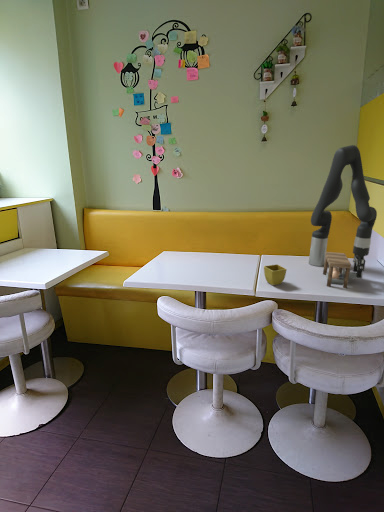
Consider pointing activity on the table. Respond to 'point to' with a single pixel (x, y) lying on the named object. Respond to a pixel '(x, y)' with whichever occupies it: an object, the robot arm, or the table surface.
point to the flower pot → (274, 274)
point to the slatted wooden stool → (336, 261)
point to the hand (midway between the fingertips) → (356, 274)
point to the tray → (341, 276)
